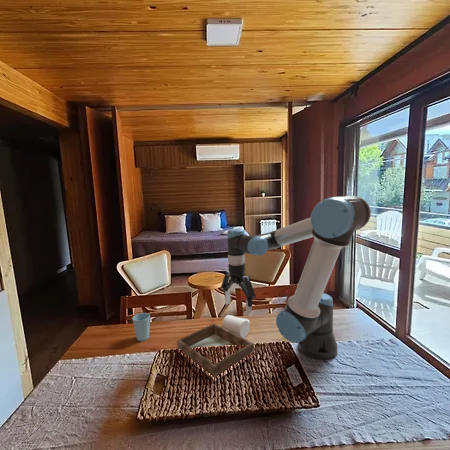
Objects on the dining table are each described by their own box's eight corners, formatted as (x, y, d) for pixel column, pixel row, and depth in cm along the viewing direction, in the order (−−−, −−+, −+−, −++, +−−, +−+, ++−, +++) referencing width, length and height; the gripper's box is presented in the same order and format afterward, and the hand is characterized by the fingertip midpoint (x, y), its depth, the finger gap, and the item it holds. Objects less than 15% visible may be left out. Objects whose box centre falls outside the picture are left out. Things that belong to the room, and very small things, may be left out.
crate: (253, 356, 106) (253, 343, 105) (215, 381, 93) (214, 367, 92) (215, 334, 124) (214, 323, 123) (178, 353, 110) (177, 340, 110)
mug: (240, 341, 117) (239, 324, 116) (222, 335, 123) (221, 318, 122) (254, 330, 126) (253, 313, 125) (237, 324, 132) (236, 309, 131)
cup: (153, 339, 121) (151, 318, 120) (135, 344, 118) (133, 322, 117) (150, 332, 128) (148, 311, 127) (133, 336, 125) (131, 315, 124)
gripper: (263, 266, 114) (264, 313, 116) (224, 257, 132) (225, 298, 135) (251, 270, 109) (252, 320, 112) (212, 260, 127) (214, 302, 130)
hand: (238, 308), depth 123 cm, fingers open, 13 cm apart
